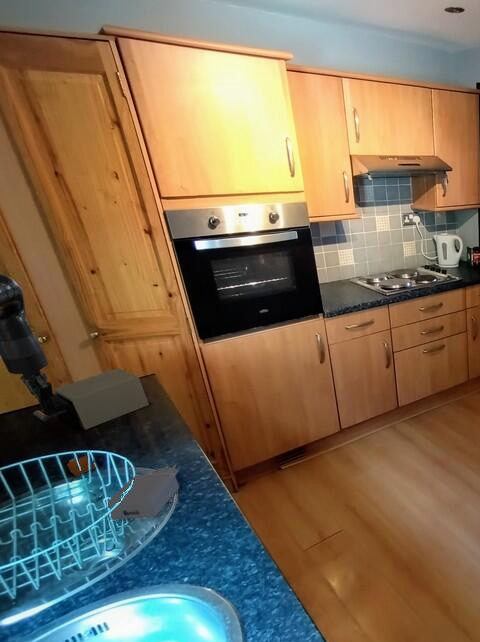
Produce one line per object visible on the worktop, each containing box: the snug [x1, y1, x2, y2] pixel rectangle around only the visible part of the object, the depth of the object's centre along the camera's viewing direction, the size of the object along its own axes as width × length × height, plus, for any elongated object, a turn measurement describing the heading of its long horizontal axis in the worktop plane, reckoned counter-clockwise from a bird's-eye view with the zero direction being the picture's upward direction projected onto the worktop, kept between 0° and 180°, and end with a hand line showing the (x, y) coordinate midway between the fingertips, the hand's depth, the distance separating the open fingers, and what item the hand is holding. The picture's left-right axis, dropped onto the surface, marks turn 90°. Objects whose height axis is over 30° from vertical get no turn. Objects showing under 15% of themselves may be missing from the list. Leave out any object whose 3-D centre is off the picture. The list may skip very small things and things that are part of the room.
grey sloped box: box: [52, 368, 150, 430], centre depth 134 cm, size 16×13×10 cm
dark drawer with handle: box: [32, 393, 82, 430], centre depth 130 cm, size 19×12×8 cm, turn 151°
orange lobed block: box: [66, 455, 97, 477], centre depth 111 cm, size 8×4×3 cm, turn 61°
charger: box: [104, 464, 180, 521], centre depth 102 cm, size 5×9×15 cm
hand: (49, 409), depth 124 cm, fingers closed
